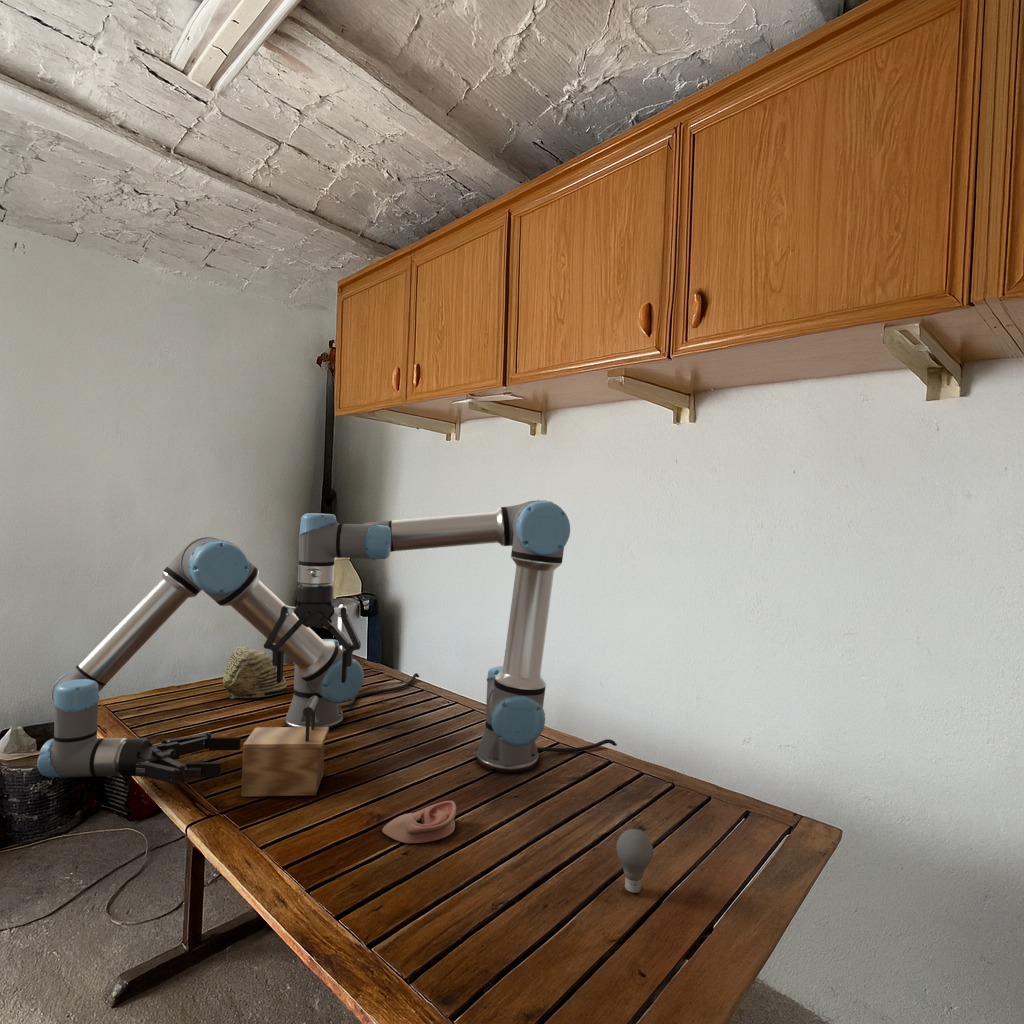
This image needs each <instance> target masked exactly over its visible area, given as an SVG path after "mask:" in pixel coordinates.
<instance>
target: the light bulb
mask: <svg viewBox="0 0 1024 1024" xmlns="http://www.w3.org/2000/svg"><path fill="white" fill-rule="evenodd" d="M615 849H616V854H617V857H618V859H619V861H620V863H621V865H622V867H623V873H624V874H623V875H624V876H625V878H624V888H625V890H627V891H628V892H630V893H634V894H635V893H639V892H640V891H641V889H642V887H641V886H642V879H643V877H644V875H645V871H646V868H647V867H648V866H649V864H650V863H651V861H652V859H653V855H654V847H653V843H652V841H651V838H649V836H648V835H647V834H646V833H645V832H643V831H642V830H641V829H636V828H629V829H627V830H625V831H623V832H622V833H621V834H620V835H619V837H618V839H617V841H616V847H615Z"/></svg>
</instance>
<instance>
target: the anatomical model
mask: <svg viewBox="0 0 1024 1024" xmlns="http://www.w3.org/2000/svg"><path fill="white" fill-rule="evenodd" d="M456 815H457V805H456V802H454V801H453V800H444V801H441V802H438V803H435V804H432V805H429V806H426V807H424V808H422V809H420V810H417V811H415V812H410V813H404V814H402V815H401V814H400V815H399V816H397V817H395V818H393V819H391V820H390V821H389V822H388V823H386V824H385V825H384V826H383V828H382V830H381V831H382V833H383V834H384V835H385V836H387V837H388V838H391V839H392V840H394V841H397V842H399V843H404V844H423V843H429V842H434V841H439V840H441V839H444V838H446V837H448V836H450V835H452V833H454V831H455V829H456V822H455V818H456Z"/></svg>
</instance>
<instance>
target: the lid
mask: <svg viewBox="0 0 1024 1024" xmlns="http://www.w3.org/2000/svg"><path fill="white" fill-rule="evenodd" d="M318 703H319V698H318V697H317V696H312V697H310V699H309V701H308V702H307V704H306V706H305V708H304V710H303V715H304V716H306V727H287V726H255V728H254V729H253V730H252V731H251V733H250V734H249V736H248V737H247V738H246V740H245V741H244V742H243V744H242V749H243V748H322V746H323V743H324V741H325V742H326V738H327V736H328V733H329V731H330V729H329V727H315V709H316V707H317V705H318ZM310 716H311V727H310Z"/></svg>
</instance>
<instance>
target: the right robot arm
mask: <svg viewBox="0 0 1024 1024" xmlns="http://www.w3.org/2000/svg"><path fill="white" fill-rule="evenodd" d="M570 535H571V524H570V518H569V517H568V515H567V513H566V512H565V510H564V509H563V508H562V507H561V506H559V505H558V504H557V503H554V502H553V501H548V500H543V499H542V500H541V499H540V500H539V499H538V500H537V499H536V500H530V501H527V502H523V503H519V504H515V505H509V506H508V505H507V506H499V507H498V508H497V509H496V510H495V511H488V512H477V513H465V514H464V513H463V514H452V515H451V514H450V515H439V516H428V517H417V518H405V519H393V520H382V521H381V520H380V521H379V520H378V521H377V520H373V521H366V522H364V523H340V522H338V520H337V516H336V515H335V514H333V513H317V512H315V513H314V512H312V513H304V514H303V515H301V518H300V526H299V533H298V566H297V570H298V571H297V583H299V585H298V586H297V590H296V591H297V594H296V605H295V606H290V605H288V604H285V605H284V606H283V607H282V608H281V613H280V617H279V619H278V621H277V623H276V624H275V626H274V628H273V630H272V632H271V633H270V635H269V637H268V639H267V638H266V641H265V643H264V644H263V647H264V649H265V650H271V651H272V658H271V659H272V664H273V666H276V668H277V683H280V682H281V681H282V679H283V676H284V662H285V661H284V660H285V654H284V649H280V648H281V647H282V645H283V644H284V643H285V642H286V641H287V640H288V639H289V638H290V637H291V636H292V635H293V634H294V633H295V632H296V630H297V629H298V628H299V627H300V626H301V625H302V624H303V625H304V626H306V627H309V628H313V627H314V628H317V629H318V628H319V629H320V628H322V627H325V628H326V629H327V630H328V631H329V632H330V634H332V636H333V637H334V638H335V640H338V642H339V645H341V647H342V649H344V650H343V656H342V681H341V683H345V682H346V679H347V667H350V666H351V664H352V658H353V652H354V651H358V650H360V649H361V647H362V643H361V640H360V638H359V635H358V633H357V631H356V629H355V628H354V625H353V623H352V621H351V618H350V616H349V611H348V610H349V609H348V608H349V607H348V606H346V605H342V606H339V607H335V606H334V586H333V585H332V584H333V583H334V581H335V559H336V558H337V559H338V558H339V559H342V558H343V559H347V558H348V559H366V560H372V561H375V560H386V559H389V557H390V556H391V553H392V552H402V551H414V550H415V551H417V550H427V549H438V548H449V547H451V548H452V547H463V546H475V545H487V544H499V545H500V546H502V547H511V553H510V558H511V560H512V561H513V562H514V564H515V574H514V580H513V581H514V582H513V588H512V597H511V604H510V612H509V617H508V618H509V620H508V627H507V633H506V634H507V635H506V643H505V648H504V649H505V650H504V656H503V657H504V658H503V665H501V666H493V667H491V668H490V669H488V671H487V677H486V701H485V702H486V703H485V725H484V726H485V727H484V730H483V733H482V736H481V738H480V741H479V744H478V745H477V747H476V762H477V764H478V765H479V766H481V767H483V768H485V769H486V770H489V771H492V772H497V773H502V774H503V773H504V774H516V773H517V774H518V773H524V772H527V771H531V770H533V769H534V768H536V767H537V765H538V764H539V752H550V753H551V752H554V753H576V752H585V751H588V750H593V749H597V748H599V747H601V746H603V745H606V744H610V745H611V746H614V747H616V746H617V747H618V744H617V742H616V741H614V740H613V739H609V738H608V739H607V738H606V739H603V740H600V741H598V742H596V743H593V744H587V745H585V746H584V745H583V746H580V747H579V746H578V747H549V746H548V747H540V746H539V747H538V746H537V743H536V740H537V739H538V738H539V737H540V736H541V734H542V733H543V731H544V728H545V724H546V713H545V709H544V703H545V695H546V688H547V687H546V686H547V683H546V681H545V680H544V678H543V677H542V675H541V672H542V664H543V658H544V650H545V645H546V644H545V643H546V637H547V636H546V634H547V629H548V620H549V614H550V606H551V597H552V591H553V590H552V589H553V582H554V575H555V571H556V570H557V569H558V568H559V567H560V566H562V565H563V559H564V551H565V547H566V545H567V543H568V541H569V539H570ZM292 612H294V613H295V615H296V616H297V617H298V619H299V620H298V621H297V622H296V623H295V624H294V625H293V626H292V628H291V629H290V630H289V631H288V632H287V633H286V634H285V635H284V636H283V637H282V638H281V639H280V640H279V641H278V643H277V644H275V643H273V642H274V640H275V638H276V636H277V635H278V633H279V631H280V629H281V628H282V626H283V624H284V622H285V620H286V619H287V616H290V615H291V614H292ZM334 614H336V615H337V617H338V618H340V619H341V623H342V624H343V627H344V628H345V631H346V633H347V635H348V637H349V639H350V641H351V642H350V641H349V639H348V638H347V637H346V636H345V634H344V633H343V632H342V631H341V630H340V628H338V626H337V625H336V624H335V622H334V621H333V619H332V617H333V616H334Z"/></svg>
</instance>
